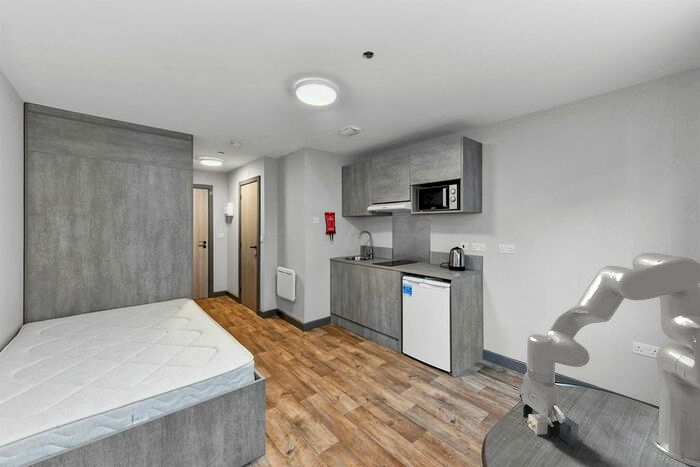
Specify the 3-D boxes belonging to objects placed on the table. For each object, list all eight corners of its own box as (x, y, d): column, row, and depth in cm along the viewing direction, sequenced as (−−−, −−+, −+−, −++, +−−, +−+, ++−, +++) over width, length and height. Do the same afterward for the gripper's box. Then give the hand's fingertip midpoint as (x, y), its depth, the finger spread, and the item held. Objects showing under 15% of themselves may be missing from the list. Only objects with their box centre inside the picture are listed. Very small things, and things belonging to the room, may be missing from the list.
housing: (538, 413, 102) (538, 397, 101) (578, 443, 88) (578, 424, 88) (531, 415, 101) (531, 398, 101) (570, 445, 87) (570, 426, 87)
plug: (559, 423, 97) (559, 412, 97) (569, 432, 93) (569, 420, 93) (525, 426, 96) (525, 414, 96) (534, 434, 92) (534, 422, 92)
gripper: (510, 363, 100) (509, 411, 101) (556, 391, 83) (554, 449, 84) (527, 360, 102) (526, 407, 102) (576, 388, 85) (575, 444, 86)
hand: (539, 426), depth 93 cm, fingers open, 8 cm apart
